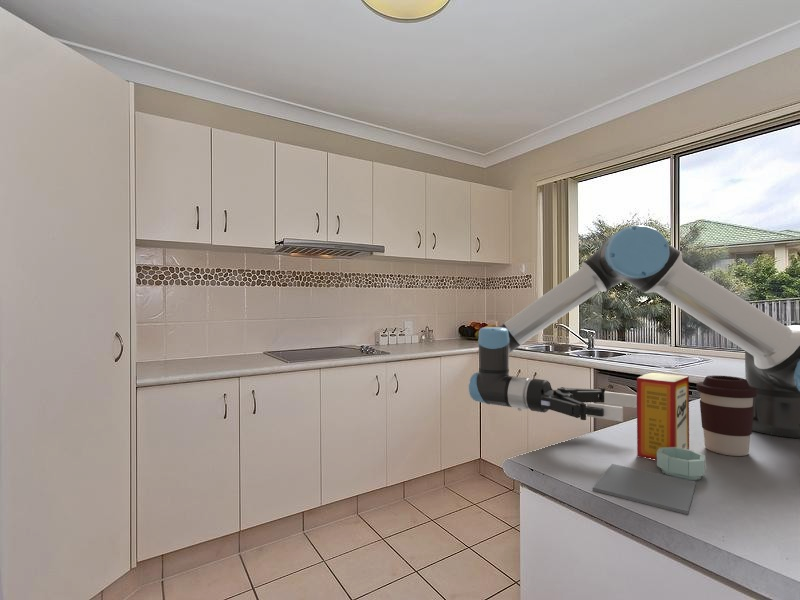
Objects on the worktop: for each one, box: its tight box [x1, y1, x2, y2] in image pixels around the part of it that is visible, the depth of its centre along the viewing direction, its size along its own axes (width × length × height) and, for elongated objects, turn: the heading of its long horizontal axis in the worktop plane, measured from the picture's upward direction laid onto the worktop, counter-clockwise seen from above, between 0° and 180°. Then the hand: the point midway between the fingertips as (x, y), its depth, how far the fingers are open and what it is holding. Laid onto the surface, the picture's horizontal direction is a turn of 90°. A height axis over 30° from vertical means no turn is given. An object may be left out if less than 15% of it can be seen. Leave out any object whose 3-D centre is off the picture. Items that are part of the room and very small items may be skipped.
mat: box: [592, 463, 697, 515], centre depth 72 cm, size 13×13×1 cm
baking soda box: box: [636, 372, 690, 461], centre depth 87 cm, size 10×6×16 cm
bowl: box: [656, 447, 707, 481], centre depth 77 cm, size 7×7×4 cm
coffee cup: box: [696, 374, 757, 457], centre depth 89 cm, size 10×10×15 cm
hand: (630, 407), depth 90 cm, fingers open, 13 cm apart
